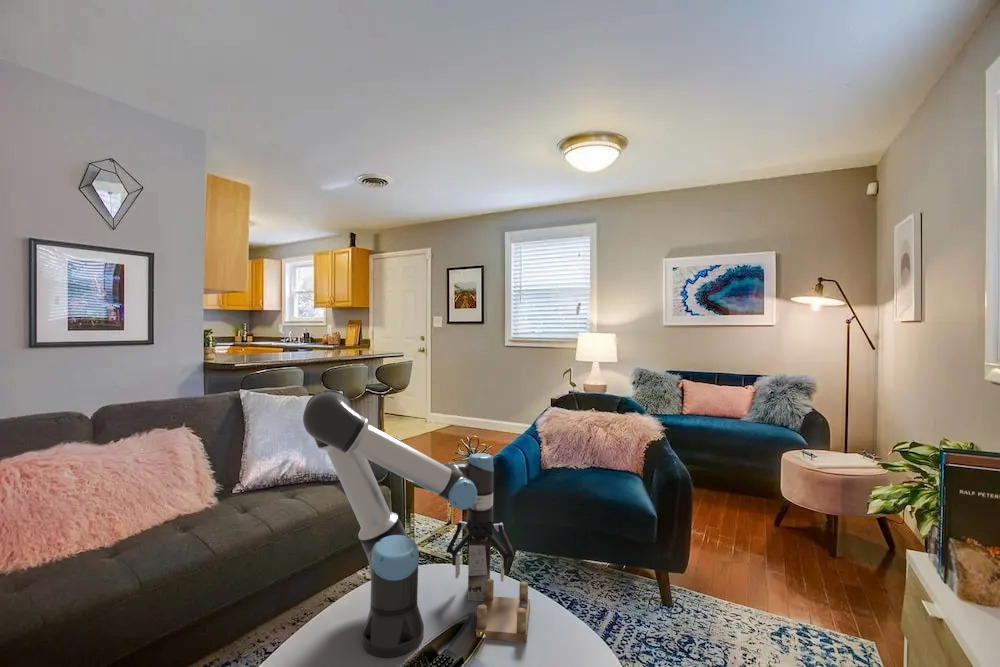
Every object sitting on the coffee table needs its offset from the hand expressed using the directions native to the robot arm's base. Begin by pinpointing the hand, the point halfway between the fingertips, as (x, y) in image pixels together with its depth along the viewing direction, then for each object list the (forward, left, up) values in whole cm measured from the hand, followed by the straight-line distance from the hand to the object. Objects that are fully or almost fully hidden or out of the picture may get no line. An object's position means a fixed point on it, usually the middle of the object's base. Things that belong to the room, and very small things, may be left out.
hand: (479, 577), depth 138 cm
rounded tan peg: (+14, -8, -2) cm, 16 cm away
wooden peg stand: (+9, -13, -4) cm, 16 cm away
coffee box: (0, 0, -5) cm, 5 cm away
